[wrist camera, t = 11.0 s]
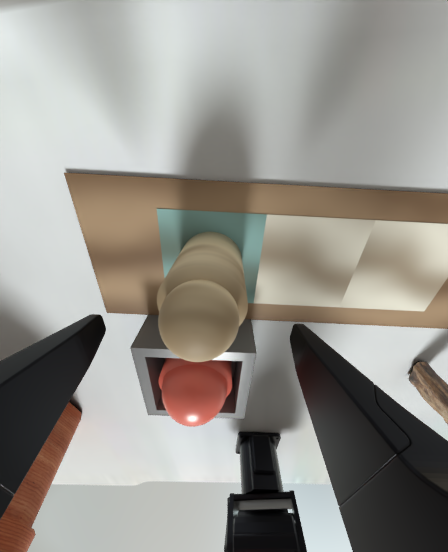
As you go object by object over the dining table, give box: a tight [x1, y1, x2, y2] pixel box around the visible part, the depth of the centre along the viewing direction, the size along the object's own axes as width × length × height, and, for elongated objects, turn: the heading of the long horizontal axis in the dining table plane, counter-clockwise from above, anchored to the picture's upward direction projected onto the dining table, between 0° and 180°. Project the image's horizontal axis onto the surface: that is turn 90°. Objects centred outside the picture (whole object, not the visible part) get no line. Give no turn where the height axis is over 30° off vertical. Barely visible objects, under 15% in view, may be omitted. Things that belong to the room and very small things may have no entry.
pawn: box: [157, 232, 248, 362], centre depth 12 cm, size 5×5×9 cm
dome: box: [159, 358, 232, 426], centre depth 18 cm, size 7×7×6 cm
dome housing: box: [131, 315, 256, 419], centre depth 20 cm, size 10×10×4 cm
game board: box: [64, 173, 448, 329], centre depth 16 cm, size 12×38×1 cm, turn 87°
